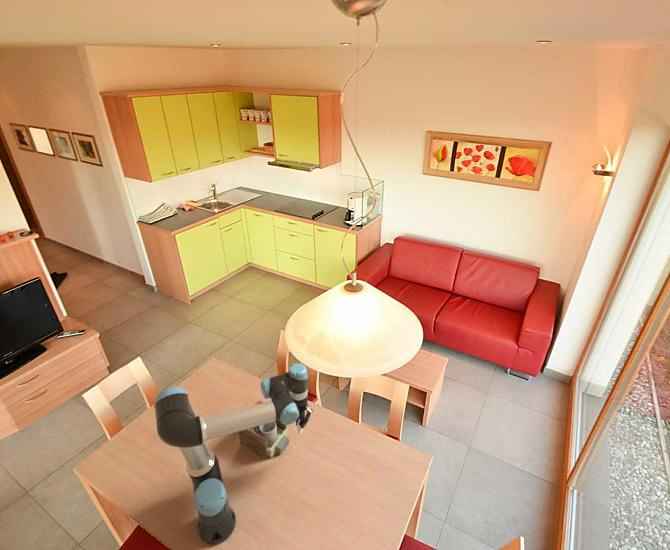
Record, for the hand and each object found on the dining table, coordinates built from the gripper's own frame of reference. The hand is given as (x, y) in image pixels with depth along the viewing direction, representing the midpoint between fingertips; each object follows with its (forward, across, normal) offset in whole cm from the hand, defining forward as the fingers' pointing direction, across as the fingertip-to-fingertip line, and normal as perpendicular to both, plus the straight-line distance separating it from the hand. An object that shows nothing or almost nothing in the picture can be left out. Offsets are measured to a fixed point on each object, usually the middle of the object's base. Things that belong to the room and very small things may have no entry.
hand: (300, 431), depth 179 cm
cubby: (+20, +23, 0) cm, 31 cm away
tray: (+20, +20, 0) cm, 28 cm away
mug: (+19, +21, 0) cm, 29 cm away
